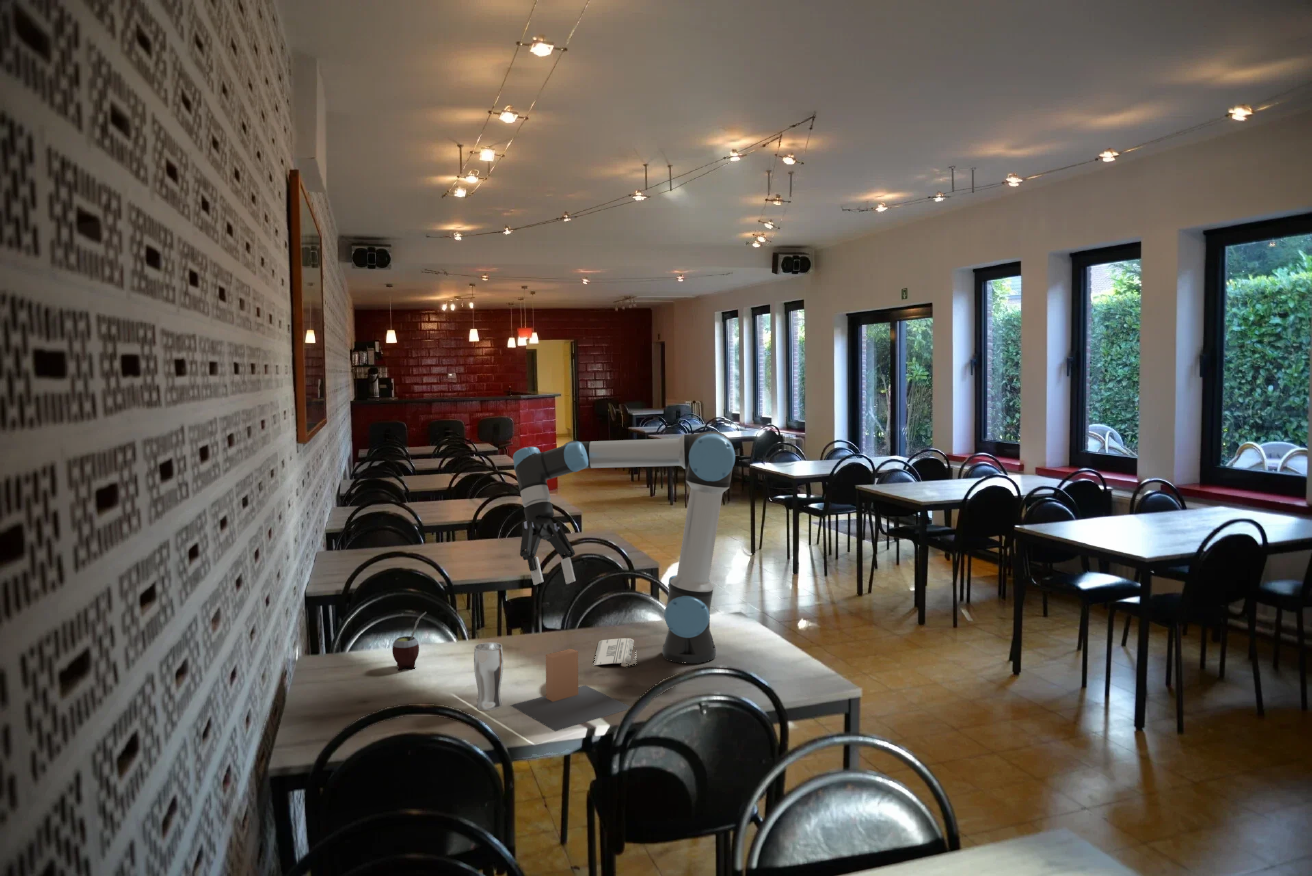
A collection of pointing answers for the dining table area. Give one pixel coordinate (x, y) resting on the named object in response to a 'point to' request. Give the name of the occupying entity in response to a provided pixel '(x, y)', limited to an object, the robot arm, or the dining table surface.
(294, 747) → the dining table surface
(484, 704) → the beer glass
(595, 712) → the rubber mat
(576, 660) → the card deck box
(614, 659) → the newspaper
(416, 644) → the mate gourd
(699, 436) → the robot arm
